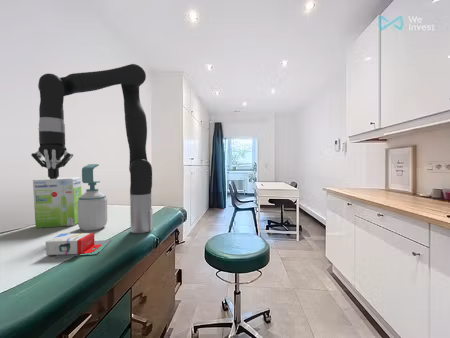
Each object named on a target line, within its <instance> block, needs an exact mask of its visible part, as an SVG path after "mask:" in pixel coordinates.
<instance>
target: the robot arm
mask: <svg viewBox="0 0 450 338" xmlns="http://www.w3.org/2000/svg"><path fill="white" fill-rule="evenodd" d="M146 79H147V73H146V71H145V69H144V68H143V67H142V66H140V65H139V64H135V63H130V64H127V65H123V66H119V67H115V68H110V69H105V70H103V69H102V70H97V71H88V72H87V71H85V72H77V73H76V72H73V73H69V74H68V75H66V76H63V77H62V76H61V77H60V76H58V75H56V74H54V73H45V74H43V75H41V76H40V77H39V79H38V84H37V85H38V91H39V98H40V100H39V101H40V103H39V105H38V106H39V109H38V110H39V112H38V113H39V117H38V118H39V120H38V143H39V147H38V150H37V151H36V152H35V153H34V152H33V153H31V157H32V158H33V159H34V160H35V161H36V162H37V163H38V164H39V166H40V167H41V168H46V169H47V178H50V179H57V178H60V169H61V168H63V167H66V165H67V164H68V163H69V161H70V160H71V159H72V158H73V157H74V154H73V153H70V152H69V151H67V147H66V127H65V126H66V124H65V119H64V118H65V117H64V116H65V113H64V111H65V110H64V98H65V97H66V96H70V95H74V94H81V93H88V92H93V91H99V90H103V89H104V88H106V89H107V88H110V87H112V86H118V85H120V86H121V91H122V96H123V108H124V109H123V111H124V124H125V132H126V139H127V143H128V149H129V150H128V151H129V164H128V165H129V166H128V169H129V171H128V172H129V174H130V175H129V176H130V177H129V178H130V180H129V181H130V183H129V184H130V187H129V198H130V199H129V200H130V201H129V204H130V205H129V206H130V207H129V209H130V213H129V214H130V215H129V216H130V233H132V234H144V233H150V232H152V230H153V223H154V222H153V221H154V220H153V207H152V188H153V168H152V167H153V166H152V165H151V163H150V162H149V161H148V156H147V148H146V147H147V139H148V125H147V124H148V122H147V116H146V113H145V110H144V108H143V106H142V103H141V99H140V87H141V86H142V85H143V84H144V82H146ZM43 157H44V158H43ZM62 157H63V158H62Z"/></svg>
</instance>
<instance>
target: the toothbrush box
mask: <svg viewBox="0 0 450 338" xmlns="http://www.w3.org/2000/svg"><path fill="white" fill-rule="evenodd" d="M32 188H33V205H34V206H33V207H34V223H35V226H34V227H35V229H38V228H39V229H40V228H42V227H44V228H53V227H54V228H56V227H57V228H58V227H69V226H76V225H78V206H77V202H78V200H79V199H78V198H79V197H81V195H83V194H82V176H80V177H57V179H50V178H49V177H46V178H37V179H36V178H35V179H33V180H32Z"/></svg>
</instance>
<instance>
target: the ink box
mask: <svg viewBox="0 0 450 338" xmlns="http://www.w3.org/2000/svg"><path fill="white" fill-rule="evenodd" d="M94 241H95V232H89V233H88V232H85V233H61V234H59V235H56V236H54V237H53V238H50V239H48V240H45V254H46V256H57V255H66V254H85V253H92V252H94V251H95V250H96V249H98V248H99V247H100V246H101V245H102V244H98V245H94ZM93 248H95V249H93ZM92 249H93V250H92Z"/></svg>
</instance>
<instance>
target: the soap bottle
mask: <svg viewBox="0 0 450 338" xmlns="http://www.w3.org/2000/svg"><path fill="white" fill-rule="evenodd" d="M98 166H100V165H99V163H89V164H87V165H84V166H83V167H82V169H81V183H83V184H87V185H88V186H89V188H87V189H86V190H85V192H84V193H83V194H82V195H81V197H79V198H78V199H79V200H78V202H77V206H78V223H77V225H78V228H79V229H80V230H82V231H84V232H90V231H91V232H92V231H98V230H100V229H101V230H102V229H103V228H104V227H105V226H106V225H107V223H108V199H107V195H105V194H104V193H103V192H100V191H99V188H96V186H97V183H101V181H99V180H98V181H96V180H95V181H94V170H95V168H97V167H98Z"/></svg>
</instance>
